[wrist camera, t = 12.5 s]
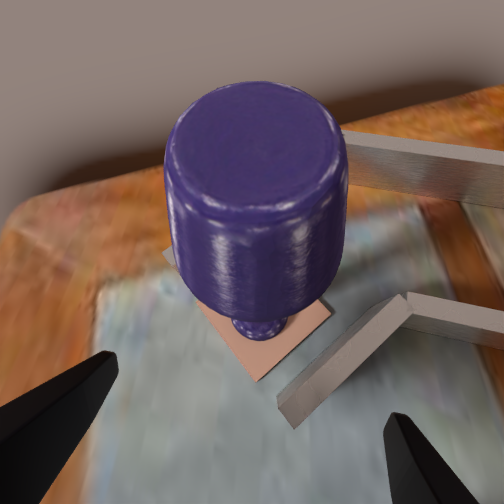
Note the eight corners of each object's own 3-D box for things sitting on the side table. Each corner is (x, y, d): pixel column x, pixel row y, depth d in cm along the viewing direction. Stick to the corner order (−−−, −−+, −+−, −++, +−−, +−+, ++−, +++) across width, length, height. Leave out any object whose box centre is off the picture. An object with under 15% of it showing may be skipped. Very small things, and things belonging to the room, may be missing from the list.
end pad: (255, 382, 18) (255, 382, 18) (197, 303, 21) (195, 302, 20) (330, 314, 20) (331, 313, 19) (267, 246, 22) (267, 245, 21)
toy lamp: (271, 267, 21) (274, 4, 5) (310, 317, 19) (479, 157, 4) (219, 304, 20) (42, 126, 4) (256, 359, 19) (184, 379, 3)
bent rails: (598, 334, 18) (696, 327, 14) (205, 433, 18) (184, 457, 13) (462, 133, 25) (502, 87, 20) (172, 200, 24) (151, 167, 20)
